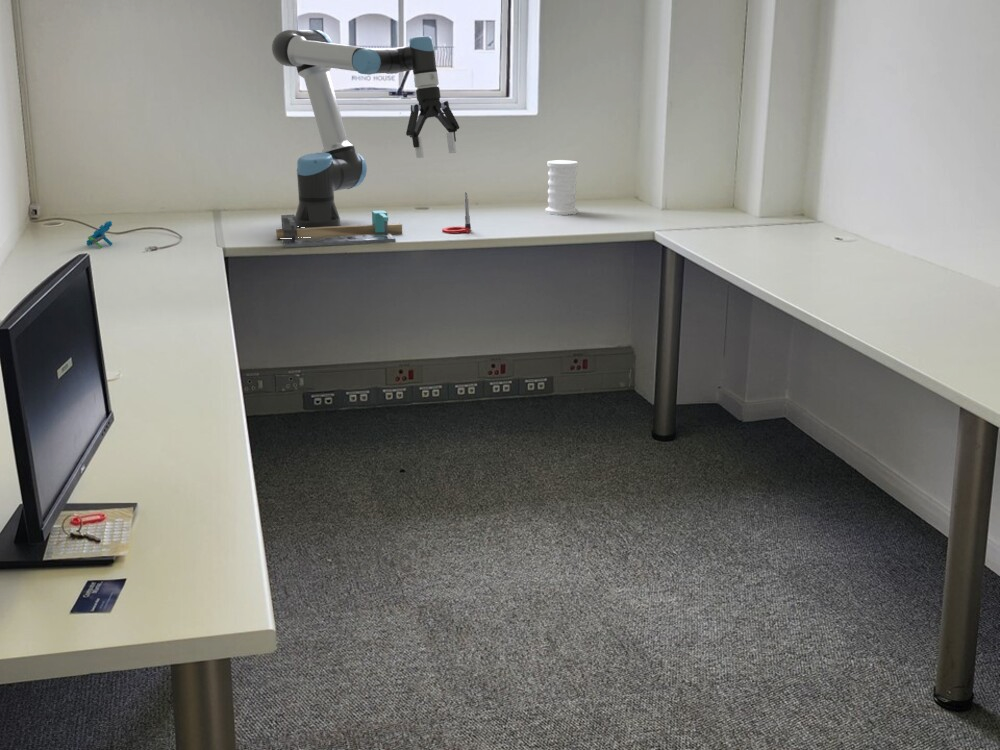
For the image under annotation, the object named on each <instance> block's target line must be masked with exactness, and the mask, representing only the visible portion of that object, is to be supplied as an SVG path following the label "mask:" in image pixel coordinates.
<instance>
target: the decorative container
mask: <svg viewBox="0 0 1000 750" xmlns="http://www.w3.org/2000/svg"><path fill="white" fill-rule="evenodd" d="M546 163H547V166H546V167H548V172H547V175H548V181H547V185H548V189H547V194H548V197H547V203H548V206H547V207H546V208H544V209H545V211H544V212H546V214H547V213H549V214H548V215H552V214H557V215H556V216H571V215H570V214H573V215H577V214H578V209H579V208H577V207H575V206H576V202H577V199H576V193H577V191H576V185H577V180H576V176H577V171H576V169H577V168H576V167H578V165H579V162H578V161H576V160H569V159H566V160H565V159H557V160H556V159H555V160H548V161H547V162H546ZM576 213H577V214H576ZM568 214H569V215H568Z"/></svg>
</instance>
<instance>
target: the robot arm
mask: <svg viewBox="0 0 1000 750" xmlns="http://www.w3.org/2000/svg"><path fill="white" fill-rule="evenodd" d="M271 44H272V45H271V52H272V55H273V57H274V59H275V60H276V61H277V62H278V63H279V64H281V65H282V66H285V67H293V68H294V67H295V68H296V71H297V74H298V76H299V77H301V78H303V80H304V82H305V86H306V90H307V95H308V96H309V100H310V104H311V107H312V112H313V114H314V119H315V123H316V127H317V129H318V133H319V137H320V139H321V143H322V147H323V149H322V150H321V152H315V153H308V154H305V155H302V156H300V157H299V158H298V160H297V163H296V166H297V167H296V175H297V188H298V189H297V191H298V205H297V210H296V213H295V216H296V224H297V226H299V227H305V228H312V227H332V226H338V225H339V226H341V217H340V214H339V211H338V209H337V207H336V206H337V205H336V203H335V192H336V191H337V192H338V191H342V190H350V189H353V188H356V187H359V186H361V185H362V183H363V182H364V181H365V178H366V175H367V171H368V170H367V169H368V168H367V162H366V160H365V158H364V156H362V155H361V154H360V153H358V152H356V148H355V145H354V144H352V143H350V142H349V141H348V136H347V134H346V133H347V132H346V129H345V125H344V123H343V119H342V115H341V111H340V107H339V104H338V100H337V96H336V93H335V90H334V86H333V82H332V79H331V75H330V71H331V69H336V70H337V69H339V70H343V71H345V70H346V71H349V72H350V71H351V72H357V73H358V74H360V75H375V74H388V75H390V74H391V75H392V74H398V73H403V72H409V71H412V73H413V82H414V87H415V88H416V89H415V94H416V96H415V97H416V100H417V102H418V104H416V103H414V104H411V105H410V116H409V119H408V123H407V128H406V132H405V135H406V136H408V137H410V138H411V139H412V140H411V141H412V147H413V148H414V150H415V155H416V159H422V158H425V156H424V149H423V141H422V136H421V135H420V133H421V131H422V129H423V127H424V125H425V122H426V120H427V119H429V118H430V119H431V118H436V119H437V120H438V122H439V123H441V125H442V126H443V127H444V128H445V130H446V131H447V132H446V141H447V149H448V154H455V153H457V148H456V141H457V140H456V132H458V130H459V129H460V126H459V123H458V121H457V119H456V117H455V116H454V113H453V112H452V110H451V108H450V104H449V101H448V100H445V101H444V100H443V101H440V99H441V90H440V87H439V76H438V75H439V74H438V70H437V63H436V53H435V51H436V50H435V47H434V41H433V38H432V37H431V36H430V35H421V36H414V37H410V38H409V39H408V45H407V46H406V45H405V46H400V47H388V48H387V47H384V48H383V47H382V48H370V47H362V46H355V45H354V46H353V45H347V44H338V43H333V42H332V39H331V38H330V36H329V35H328V34H327V33H325V32H323V31H322V30H319V29H318V30H317V29H295V30H294V29H286V30H282V31H281V32H279V33H278V34H276V35H275V37H274V38H273V40H272V43H271ZM419 111H420V112H419ZM419 135H420V136H419ZM299 227H298V228H299Z"/></svg>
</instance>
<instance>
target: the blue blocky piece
mask: <svg viewBox="0 0 1000 750" xmlns="http://www.w3.org/2000/svg"><path fill="white" fill-rule="evenodd" d="M112 226H113V222H112V221H111V220H109V221H106V222H105V223H104V224H101V225H100V226H99V227H98V229H96V230H94V232H93V234H91V235H89V236H88V237H87V240H86V246H88V247H89V246H92V245H96V246H97V247H98V248H100V249H102V248H103V246H102V244H100V243H99V242H100V241H102V240H103V241H104V242H105V243H107V244H108V245H109V246H110V247H111V246H112V245H113V242H112V241H111V240H110V239H108V237H106V233H107V232H108V231H109V230H110V228H111V227H112Z"/></svg>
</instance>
